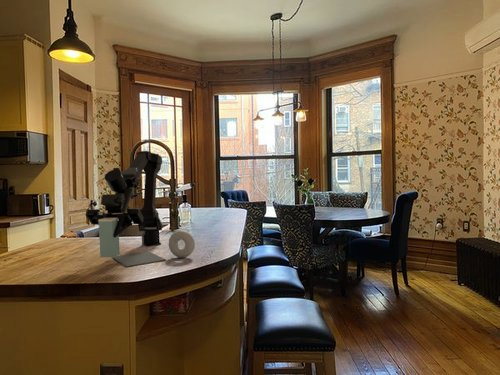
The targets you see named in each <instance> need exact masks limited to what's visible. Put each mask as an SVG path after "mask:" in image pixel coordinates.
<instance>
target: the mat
mask: <svg viewBox="0 0 500 375" xmlns="http://www.w3.org/2000/svg"><path fill="white" fill-rule="evenodd" d="M111 258H112V259H114V260H115V261H116V262H118V263H120V265H122V266H124V267H125V268H130V267H135V266H142V265H147V264H155V263H160V262H165V261H166V260H167V259H165V258H164V257H162V256H159V255H158V254H155V253H153V252H151V251H148V250H145V251H141V252H133V253H126V254H119V255H117V256H115V257H111Z"/></svg>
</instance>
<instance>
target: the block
mask: <svg viewBox="0 0 500 375" xmlns="http://www.w3.org/2000/svg"><path fill="white" fill-rule="evenodd" d="M117 223H118V218H103V219H99V225H98V238H99V239H98V240H99V254H100V258H112V257H115V256H119V255H121V250H120V249H121V248H120V234H119V235H118V236H117V237H115V238H114V236H113V235H114V231H115V228H116V226H117Z"/></svg>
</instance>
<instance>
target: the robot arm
mask: <svg viewBox="0 0 500 375" xmlns="http://www.w3.org/2000/svg"><path fill="white" fill-rule="evenodd" d="M162 164H163V158H162V156H161V155H160V154H159V153H154V152H152V151H149V150H140V151H137V152H136V156H135V157H134V159H133V160H132V162H131V164H130V166H129V167H128V168H127V169H124V170H122V171H121V169H120V167H113V169H111V170H110V171H108V172H107V173H105V174H104V180H105V182H106V183H107V186H108V188H109V189H110V190H111V192H113V194H111V193H110V194H109V193H108V194H107V193H105V194H102V195H101V199H100V205H102V206H104V210H105V211H106V212H104V211H102V210H100V209H99V208H94V209H90V208H89V209H87V210H86V213H85V214H84V215H85V217H86V218H87V219H88V221H89V223H90V224H91V225H98V226H99V219H103V218H118V223H117V226H116V228H115V231H114V235H113V236H114V238H115V237H117V236H118V235H119V236H120V234H121V233H122V232H124V231H125V230H126V229H128V228H129V227H132V226H133V224H134V225H138V231H139V232H142V234H141V245H142V246H145V247H151V246H158V245H162V243H161V242H160V231H162V230H163V223H162V221H161V219H160V217H159V214H160V213H159V212H158V210H157V208H156V198H157V197H156V196H157V195H156V193H157V175H158V174H159V172H160V171H161V169H162ZM142 172H144V173H145V174H144V175H145V176H144V191H143V192H144V193H143V196H144V197H143V206H142V207H141V209H140V208H138V207H136V208H130V206H129V204H130V201H131V199H134V198H135V196H134V194H133V193H134V192H133V190H132V189H137V188H138V187H139V186H140V184H141V178H140V176H141V173H142Z"/></svg>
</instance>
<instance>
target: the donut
mask: <svg viewBox="0 0 500 375" xmlns="http://www.w3.org/2000/svg"><path fill="white" fill-rule="evenodd" d="M180 240H182V241H184V242H183V243H184V247H183V248H181V247H180V246H179V241H180ZM195 246H196V245H195V238H194V237H193V235H192V234H191V233H190V232H189V231H188V230H187V231H186V230H183V229H181V230H176V231H174V232H173V233H172V234H171V235H170V237H169V239H168V248H169V251H170V252H171V253H172V254H173V256H174V257H176V258H180V259H182V258H183V259H185V258H188V257H189V256H191V255H192V254H193V252H194V250H195Z"/></svg>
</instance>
